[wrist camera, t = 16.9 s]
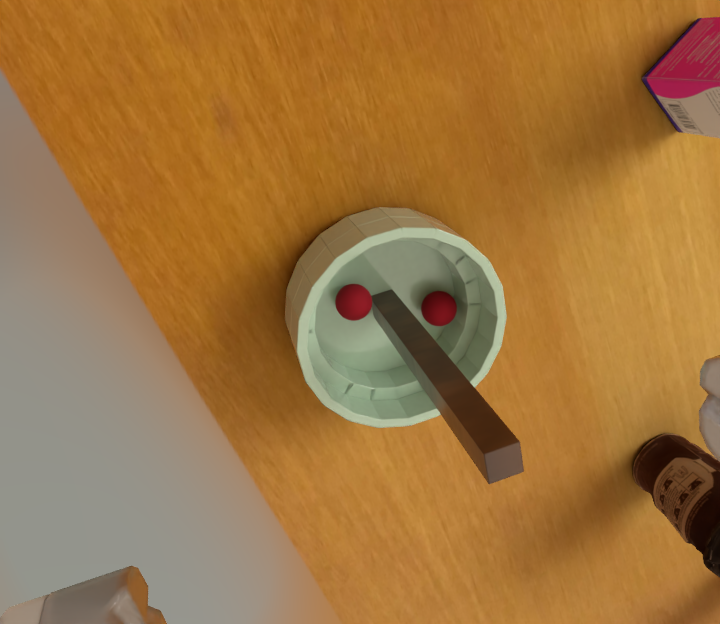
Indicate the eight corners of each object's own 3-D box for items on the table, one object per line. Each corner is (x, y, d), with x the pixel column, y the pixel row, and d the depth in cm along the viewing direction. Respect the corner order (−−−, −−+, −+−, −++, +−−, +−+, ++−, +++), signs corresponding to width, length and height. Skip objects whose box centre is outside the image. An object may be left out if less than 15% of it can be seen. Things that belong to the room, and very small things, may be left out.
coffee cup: (606, 497, 62) (704, 603, 50) (634, 422, 59) (744, 516, 48) (680, 495, 65) (789, 595, 53) (709, 423, 62) (832, 513, 50)
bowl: (311, 410, 50) (327, 454, 45) (259, 238, 44) (270, 266, 39) (482, 353, 52) (516, 389, 47) (455, 181, 46) (491, 200, 41)
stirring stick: (374, 317, 48) (489, 484, 30) (369, 296, 47) (483, 454, 29) (396, 310, 48) (524, 471, 30) (392, 288, 47) (520, 441, 29)
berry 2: (465, 294, 48) (440, 306, 50) (439, 279, 46) (415, 292, 48) (463, 324, 46) (438, 336, 48) (436, 310, 45) (412, 322, 47)
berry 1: (329, 294, 47) (331, 325, 45) (340, 274, 45) (343, 306, 43) (362, 298, 48) (366, 328, 46) (375, 279, 45) (379, 310, 44)
